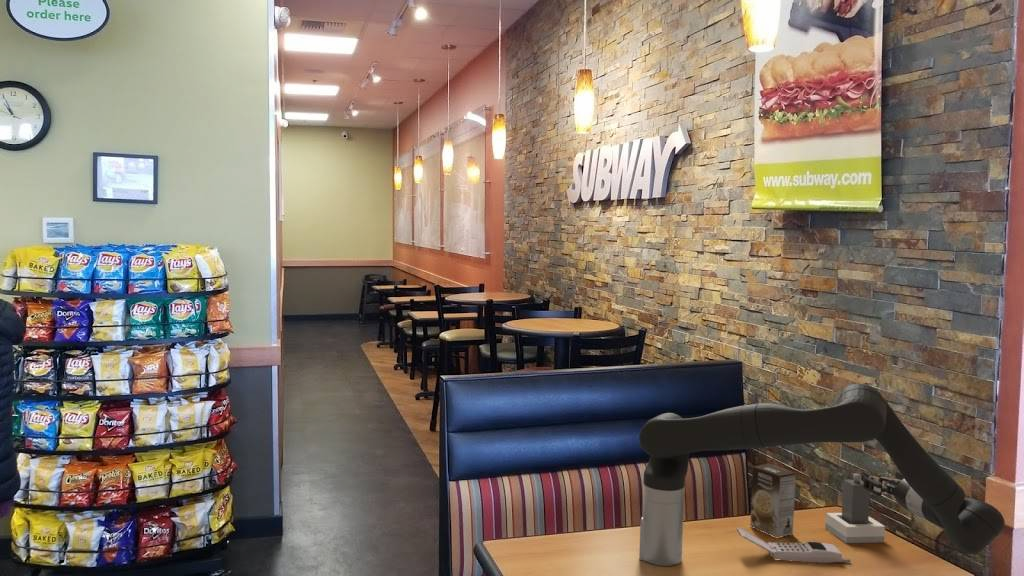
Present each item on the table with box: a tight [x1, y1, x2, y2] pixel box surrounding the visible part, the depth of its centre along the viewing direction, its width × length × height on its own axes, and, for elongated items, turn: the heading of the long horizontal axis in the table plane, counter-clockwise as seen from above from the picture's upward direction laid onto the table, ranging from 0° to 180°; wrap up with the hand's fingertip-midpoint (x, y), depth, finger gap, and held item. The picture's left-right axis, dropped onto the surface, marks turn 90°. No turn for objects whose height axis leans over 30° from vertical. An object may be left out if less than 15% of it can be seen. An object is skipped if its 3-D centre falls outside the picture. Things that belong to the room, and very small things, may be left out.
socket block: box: [824, 512, 886, 544], centre depth 199 cm, size 10×10×4 cm
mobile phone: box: [736, 526, 851, 564], centre depth 184 cm, size 6×6×25 cm
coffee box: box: [749, 463, 797, 537], centre depth 201 cm, size 9×6×16 cm
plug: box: [841, 473, 871, 524], centre depth 199 cm, size 4×4×14 cm
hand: (879, 476), depth 189 cm, fingers open, 8 cm apart
